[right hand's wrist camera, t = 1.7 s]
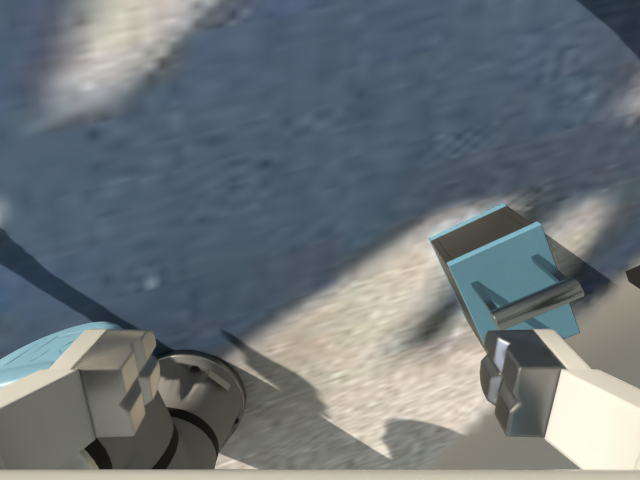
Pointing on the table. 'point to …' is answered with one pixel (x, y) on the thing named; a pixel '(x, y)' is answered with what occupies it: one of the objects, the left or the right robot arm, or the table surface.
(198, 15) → the table surface
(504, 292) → the lid
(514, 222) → the chest
